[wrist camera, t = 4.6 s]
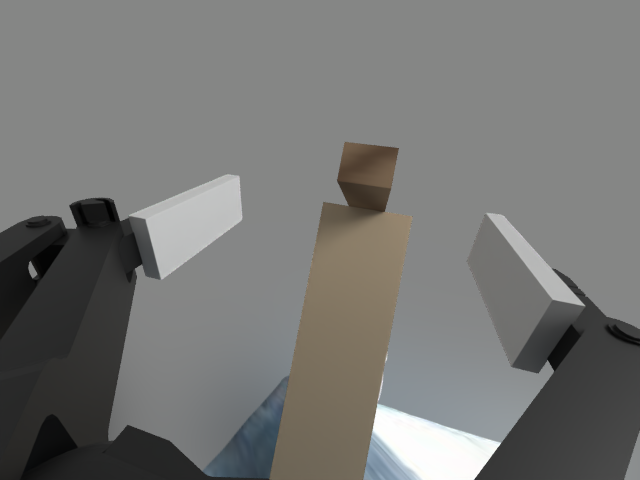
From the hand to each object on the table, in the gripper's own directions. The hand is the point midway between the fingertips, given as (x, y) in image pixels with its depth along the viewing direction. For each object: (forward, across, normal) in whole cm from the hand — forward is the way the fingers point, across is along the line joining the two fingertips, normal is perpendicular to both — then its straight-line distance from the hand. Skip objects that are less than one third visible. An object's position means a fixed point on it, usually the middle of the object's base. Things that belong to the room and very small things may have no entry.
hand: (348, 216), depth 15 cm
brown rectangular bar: (+18, 0, +7) cm, 19 cm away
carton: (+2, 0, +39) cm, 39 cm away
